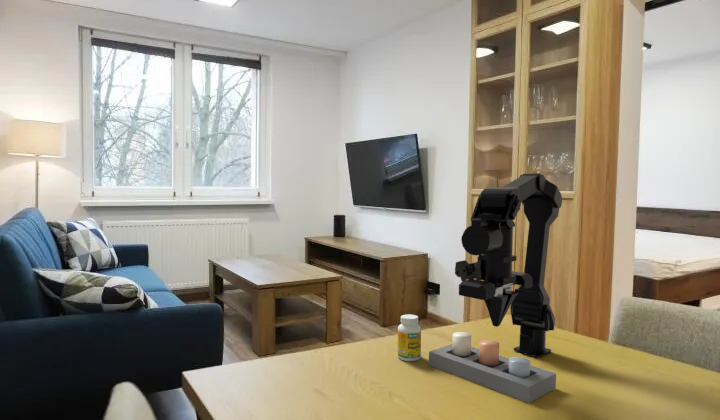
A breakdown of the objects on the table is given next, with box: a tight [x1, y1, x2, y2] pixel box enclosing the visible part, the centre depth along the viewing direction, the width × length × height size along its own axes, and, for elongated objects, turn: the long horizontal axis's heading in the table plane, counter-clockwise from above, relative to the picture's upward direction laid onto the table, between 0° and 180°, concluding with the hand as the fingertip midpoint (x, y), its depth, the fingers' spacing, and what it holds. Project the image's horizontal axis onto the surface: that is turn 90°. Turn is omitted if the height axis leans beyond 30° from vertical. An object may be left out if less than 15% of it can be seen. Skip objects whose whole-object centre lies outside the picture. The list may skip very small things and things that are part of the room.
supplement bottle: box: [397, 313, 422, 362], centre depth 109 cm, size 5×5×10 cm
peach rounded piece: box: [478, 339, 500, 365], centre depth 99 cm, size 4×4×4 cm
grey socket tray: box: [428, 343, 557, 404], centre depth 99 cm, size 10×24×3 cm, turn 40°
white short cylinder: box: [451, 331, 472, 356], centre depth 104 cm, size 4×4×4 cm
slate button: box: [509, 356, 531, 379], centre depth 94 cm, size 4×4×4 cm
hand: (496, 325), depth 97 cm, fingers closed
